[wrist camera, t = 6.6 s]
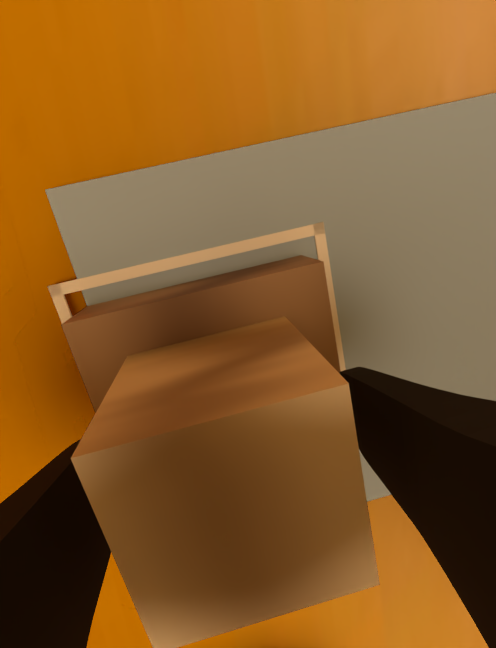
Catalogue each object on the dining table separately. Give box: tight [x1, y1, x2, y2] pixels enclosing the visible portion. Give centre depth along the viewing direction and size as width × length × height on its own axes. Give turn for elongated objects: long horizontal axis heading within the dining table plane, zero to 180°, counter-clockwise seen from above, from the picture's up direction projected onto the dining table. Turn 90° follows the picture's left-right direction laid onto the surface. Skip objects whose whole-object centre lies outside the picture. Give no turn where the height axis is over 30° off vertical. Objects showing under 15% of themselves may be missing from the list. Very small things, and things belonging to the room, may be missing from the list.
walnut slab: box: [61, 255, 340, 413], centre depth 13 cm, size 8×8×2 cm
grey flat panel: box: [45, 93, 496, 501], centre depth 15 cm, size 19×16×1 cm
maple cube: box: [71, 316, 380, 648], centre depth 9 cm, size 5×5×5 cm
